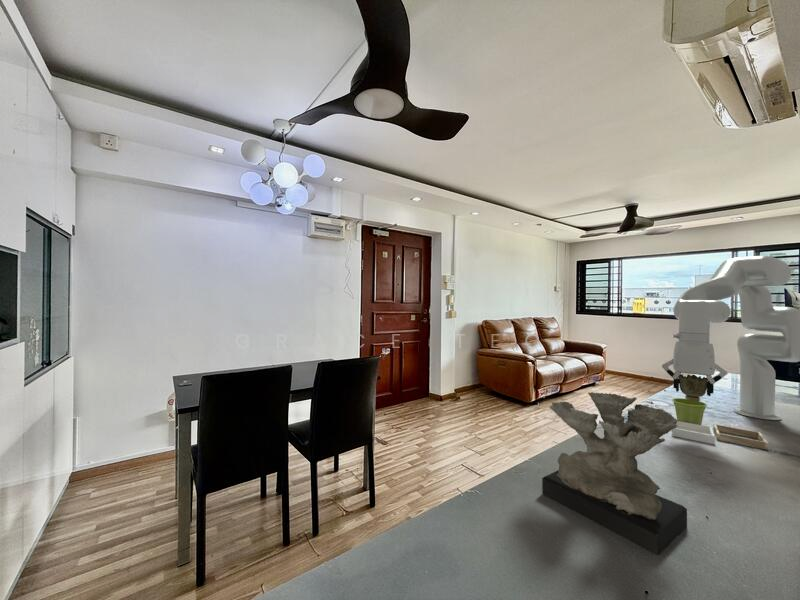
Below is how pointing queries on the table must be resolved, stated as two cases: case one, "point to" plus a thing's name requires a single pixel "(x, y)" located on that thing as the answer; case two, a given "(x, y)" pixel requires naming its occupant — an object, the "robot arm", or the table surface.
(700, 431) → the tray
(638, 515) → the coral
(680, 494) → the table surface
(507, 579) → the table surface
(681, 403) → the plant pot
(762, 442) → the birch frame
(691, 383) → the cup
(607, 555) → the table surface
